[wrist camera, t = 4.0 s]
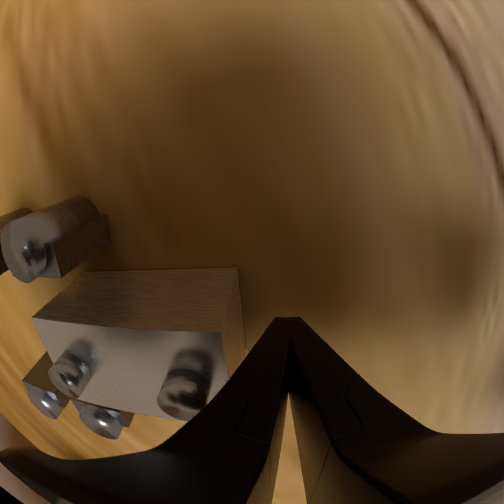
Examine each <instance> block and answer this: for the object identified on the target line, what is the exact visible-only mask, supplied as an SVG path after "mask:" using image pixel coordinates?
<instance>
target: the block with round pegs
mask: <svg viewBox="0 0 504 504" xmlns="http://www.w3.org/2000/svg"><path fill="white" fill-rule="evenodd" d="M32 320H33V322H34V324H35V327H36V329H37V331H38V333H39V335H40V338H41V340H42V342H43V344H44V346H45V348H46V350H47V352H48V354H49V356H50V358H51V360H52V362H53V363H54V364H53V365H52V367H51V368H50V369H49V371H48V375H49V378H50V380H51V381H52V383H53V384H54V385H55V386H56V388H57V389H59V390H60V391H61V392H62V393H64V394H65V395H67V396H69V397H71V398H75V399H79V400H82V401H86V402H89V403H93V404H97V405H101V406H105V407H109V408H113V409H118V410H123V411H127V412H132V413H138V414H143V415H149V416H155V417H162V418H169V419H177V420H183V421H189V420H191V419H192V418H193V417H194V416H195V415H196V414H197V413H198V412H199V411H200V410H201V409H203V408H204V407H205V406H206V405H207V404H208V403H209V402H210V401H211V400H212V399H213V397H214V396H215V395H216V394H217V393H218V392H219V391H220V389H221V388H222V387H223V386H224V384H225V383H226V382H227V380H229V378H230V377H231V376H232V374H233V373H234V372H235V370H236V369H237V368H238V366H239V365H240V364H241V363H242V361H243V360H244V359H245V356H246V345H245V336H244V326H243V317H242V307H241V297H240V287H239V277H238V267H230V268H202V269H169V270H130V271H86V272H85V273H84V274H82V275H81V276H80V277H79V278H77V279H76V280H75V281H74V282H72V283H71V284H70V285H69V286H68V287H66V288H65V289H64V290H63V291H62V292H60V293H59V294H58V295H57V296H56V297H54V298H53V299H52V300H51V301H50V302H49V303H47V304H46V305H45V306H44V307H43V308H42V309H40V310H39V311H38V312H37V313H36V314H35V315H34V316H33V317H32Z"/></svg>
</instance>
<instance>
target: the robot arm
mask: <svg viewBox="0 0 504 504" xmlns="http://www.w3.org/2000/svg"><path fill="white" fill-rule="evenodd" d="M288 392H289V397H290V403H291V409H292V415H293V421H294V427H295V433H296V439H297V445H298V451H299V457H300V463H301V469H302V475H303V481H304V487H305V494H306V500H307V504H504V433H492V434H447V433H440V432H436V431H434V430H431V429H429V428H427V427H425V426H424V425H422V424H421V423H419V422H418V421H417V420H415V419H414V418H412V417H411V416H409V415H408V414H407V413H405V412H404V411H403V410H401V409H400V408H398V407H397V406H396V405H394V404H393V403H391V402H390V401H389V400H388V399H386V398H385V397H384V396H382V395H381V394H380V393H379V392H377V391H376V390H375V389H374V388H373V387H372V386H371V385H370V384H368V383H367V382H366V381H365V380H364V379H363V378H362V377H361V376H360V375H359V374H357V372H356V371H355V370H354V369H353V368H352V367H351V366H349V365H348V364H347V363H346V362H345V361H344V360H343V359H342V358H341V357H340V356H339V355H338V354H337V353H336V352H335V351H334V350H333V349H332V348H331V347H330V346H329V345H328V344H327V343H326V342H325V341H324V340H323V339H322V338H321V337H320V336H319V335H318V334H317V333H316V332H315V331H314V330H313V329H312V328H311V327H310V326H309V325H308V324H307V323H306V322H305V321H304V320H303V319H302V318H300V317H275V318H274V319H273V321H272V322H271V323H270V325H269V326H268V328H267V329H266V330H265V332H264V333H263V334H262V336H261V337H260V339H259V340H258V341H257V343H256V344H255V345H254V347H253V348H252V349H251V351H250V352H249V353H248V355H247V356H246V357H245V359H244V360H243V361H242V363H241V364H240V365H239V366H238V368H237V369H236V370H235V372H234V373H233V374H232V376H231V377H230V378H229V380H227V382H226V383H225V384H224V386H223V387H222V388H221V389H220V391H219V392H218V393H217V394H216V395H215V396H214V397H213V399H212V400H211V401H210V402H209V403H208V404H207V405H206V406H205V407H204V408H203V409H201V410H200V411H199V412H198V413H197V414H196V415H195V416H194V417H193V418H192V419H191V420H189V421H188V422H187V423H186V424H185V425H184V426H183V427H181V428H180V429H179V430H178V431H177V432H176V433H175V434H173V435H172V436H171V437H170V438H169V439H167V440H166V441H165V442H163V443H162V444H160V445H159V446H157V447H154V448H152V449H150V450H147V451H142V452H137V453H131V454H125V455H119V456H112V457H105V458H96V459H86V460H66V459H60V458H56V457H53V456H50V455H48V454H46V453H44V452H42V451H40V450H38V449H36V448H34V447H32V446H19V447H11V448H7V449H5V450H2V451H1V452H0V462H1V463H2V464H3V465H4V466H5V467H6V468H7V469H8V470H9V471H10V472H11V473H13V474H14V475H15V476H16V477H17V478H18V479H20V480H21V481H22V482H23V483H25V484H26V485H27V486H29V487H30V488H31V489H32V490H34V491H35V492H36V493H37V494H39V495H40V496H42V497H43V498H44V499H46V500H47V501H49V502H50V503H51V504H272V498H273V493H274V487H275V482H276V476H277V470H278V464H279V457H280V451H281V444H282V437H283V430H284V423H285V416H286V408H287V400H288ZM0 504H23V503H22V502H21V501H19V500H18V499H17V498H15V497H14V496H13V495H11V494H10V493H9V492H7V491H6V490H5V489H4V488H2V487H1V486H0Z"/></svg>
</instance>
